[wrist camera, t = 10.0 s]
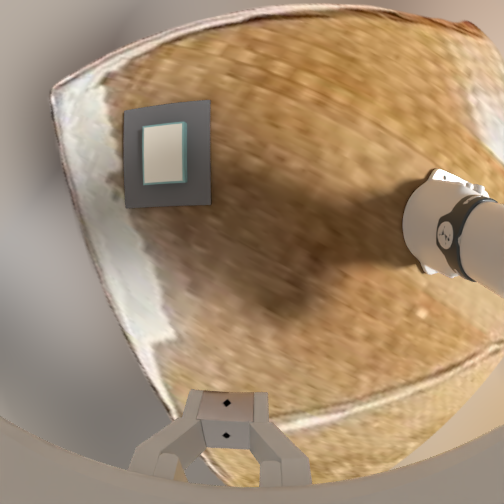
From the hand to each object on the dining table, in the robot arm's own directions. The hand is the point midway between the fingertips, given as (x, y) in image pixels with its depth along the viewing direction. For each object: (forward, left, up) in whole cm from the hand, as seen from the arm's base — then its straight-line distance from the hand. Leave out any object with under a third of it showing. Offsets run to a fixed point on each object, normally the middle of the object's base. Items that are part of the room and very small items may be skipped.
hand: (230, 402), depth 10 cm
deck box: (+9, -12, -33) cm, 36 cm away
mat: (+13, -12, -34) cm, 38 cm away
